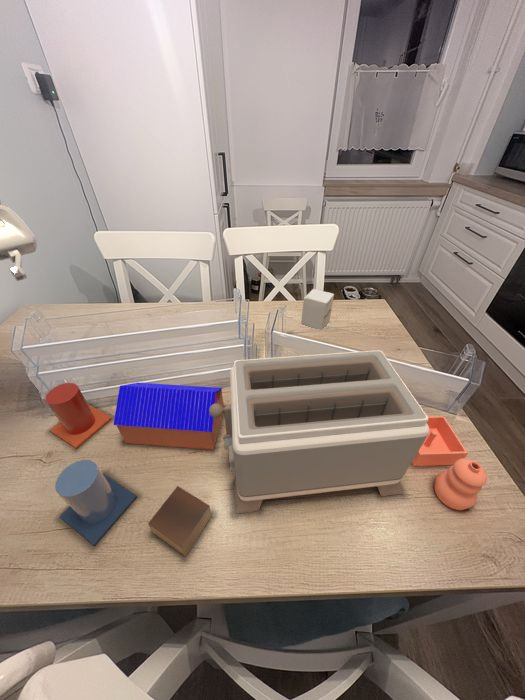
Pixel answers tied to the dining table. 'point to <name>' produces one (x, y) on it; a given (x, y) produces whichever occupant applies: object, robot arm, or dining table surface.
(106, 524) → the blue mat
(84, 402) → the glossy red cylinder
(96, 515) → the blue canister
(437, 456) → the pottery
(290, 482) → the toaster
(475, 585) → the dining table surface
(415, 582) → the dining table surface
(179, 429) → the house
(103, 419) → the red mat
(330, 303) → the white packaging box
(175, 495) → the riser
